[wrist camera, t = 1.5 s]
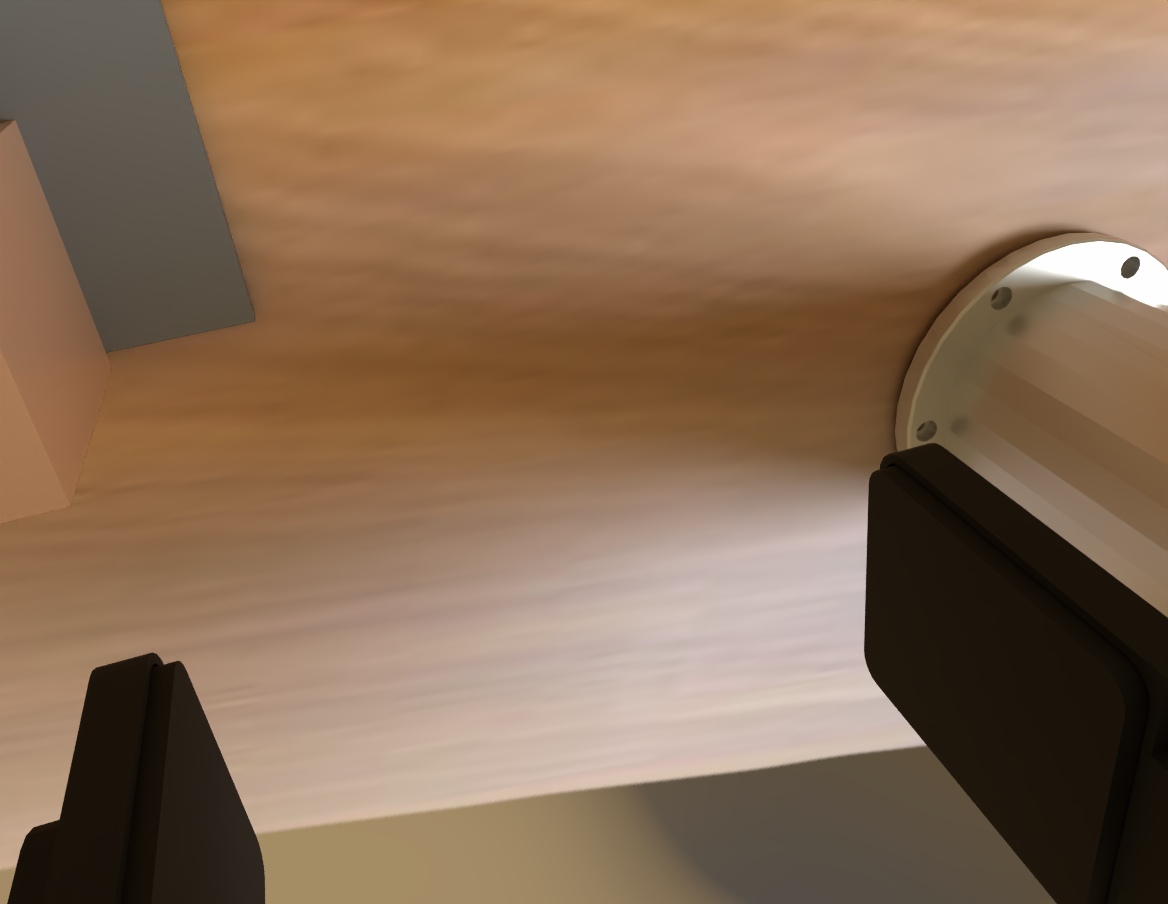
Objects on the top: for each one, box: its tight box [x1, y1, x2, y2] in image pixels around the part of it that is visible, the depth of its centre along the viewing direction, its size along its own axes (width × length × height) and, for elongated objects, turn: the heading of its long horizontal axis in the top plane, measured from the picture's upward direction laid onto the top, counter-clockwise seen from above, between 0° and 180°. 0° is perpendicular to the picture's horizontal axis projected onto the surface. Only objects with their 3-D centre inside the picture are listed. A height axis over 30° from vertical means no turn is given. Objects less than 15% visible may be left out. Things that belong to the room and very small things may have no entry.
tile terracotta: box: [0, 120, 112, 523], centre depth 24 cm, size 2×7×8 cm, turn 7°
